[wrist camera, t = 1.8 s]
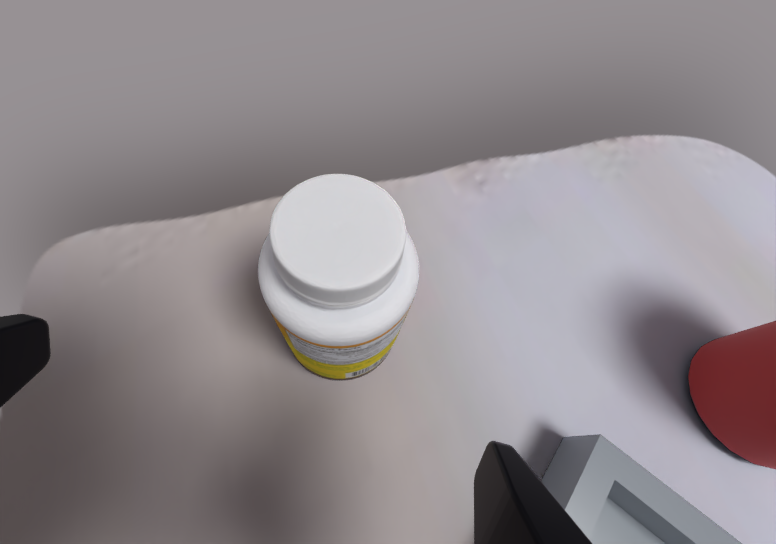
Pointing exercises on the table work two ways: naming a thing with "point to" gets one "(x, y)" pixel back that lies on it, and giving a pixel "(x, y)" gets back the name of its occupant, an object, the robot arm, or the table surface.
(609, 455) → the sorting tray
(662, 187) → the table surface
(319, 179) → the supplement bottle
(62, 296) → the table surface
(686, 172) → the table surface
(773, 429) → the beer can
